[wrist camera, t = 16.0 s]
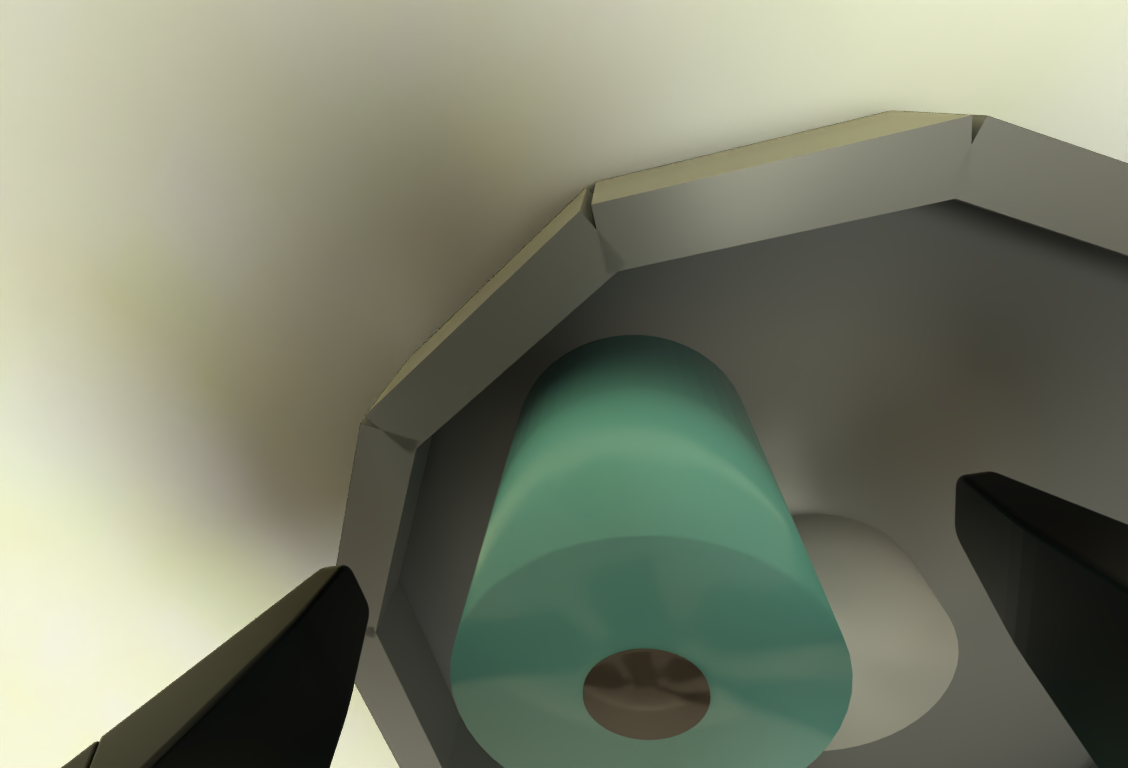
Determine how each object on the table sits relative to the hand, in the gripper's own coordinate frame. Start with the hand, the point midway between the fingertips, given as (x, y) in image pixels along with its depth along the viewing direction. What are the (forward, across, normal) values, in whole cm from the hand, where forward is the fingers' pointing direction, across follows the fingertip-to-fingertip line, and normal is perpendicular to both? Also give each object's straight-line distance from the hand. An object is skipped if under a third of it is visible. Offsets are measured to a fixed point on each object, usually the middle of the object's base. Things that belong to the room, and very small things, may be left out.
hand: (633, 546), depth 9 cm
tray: (+4, -3, +5) cm, 7 cm away
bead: (+3, 0, 0) cm, 3 cm away
